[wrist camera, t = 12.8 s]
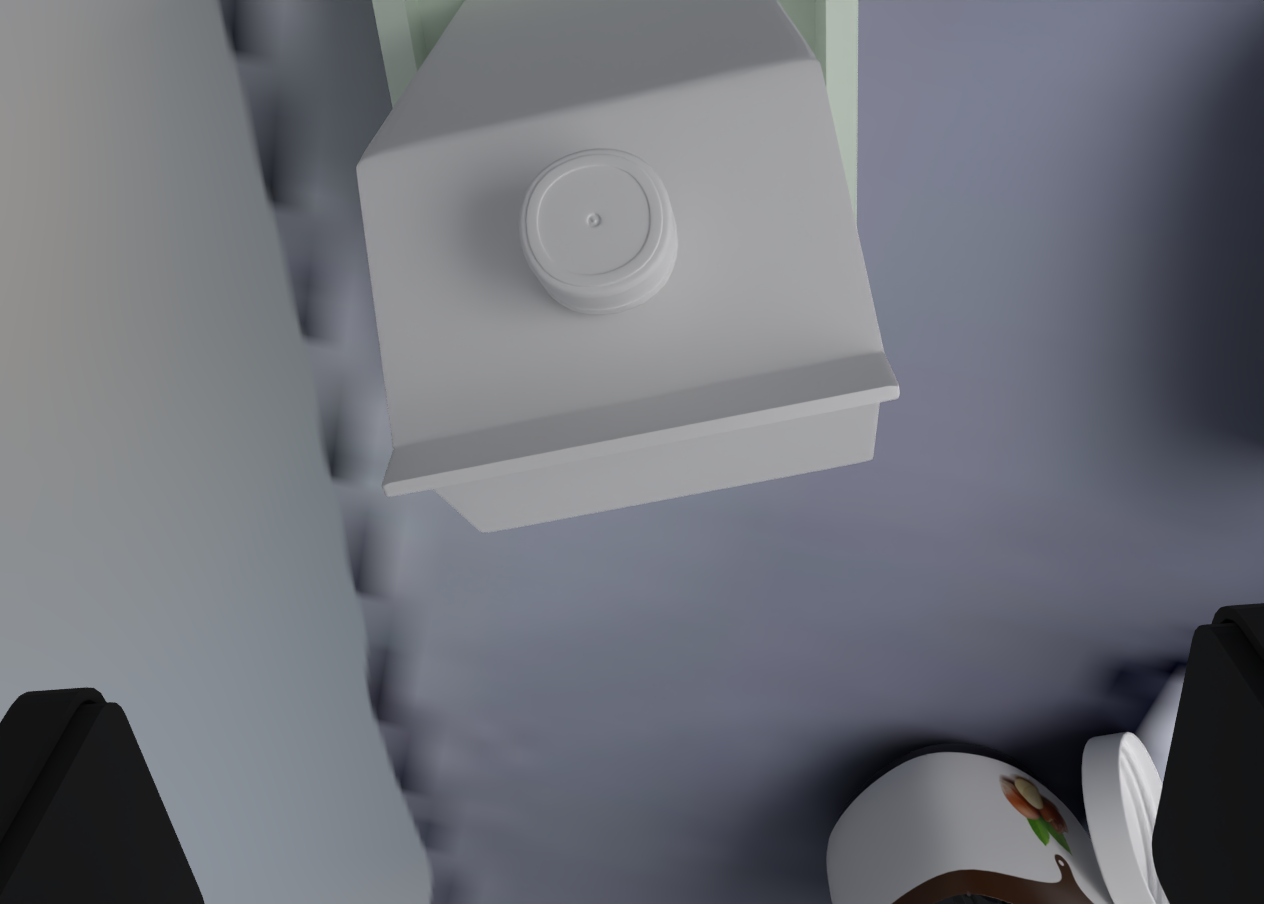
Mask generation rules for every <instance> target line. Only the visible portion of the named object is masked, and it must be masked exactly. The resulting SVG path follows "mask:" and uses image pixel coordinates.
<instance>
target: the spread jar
mask: <svg viewBox="0 0 1264 904" xmlns="http://www.w3.org/2000/svg"><path fill="white" fill-rule="evenodd" d="M1162 786H1163V785H1162V782H1161V780H1160V777H1159V775H1158V772H1157V770H1156V768H1155V765H1154V763H1153V761H1152V759H1151V757H1150V755H1149V753H1148V752H1147V750H1146V748H1145V746H1144V745H1143V744H1142V742H1141V741H1140V740H1139V738H1138V737H1137V736H1135V735H1134V734H1133V733H1130V732H1122V733H1116V734H1110V735H1103V736H1097V737H1093V738H1091V739H1089V740H1088V742H1087V743H1086V745H1085V748H1084V752H1083V757H1082V788H1083V798H1084V805H1085V811H1086V817H1087V823H1088V827H1089V832H1090V836H1091V840H1090V838H1089V836H1088V835H1087V833H1086V832H1085V830H1084V829H1083V827H1082V826H1081V824H1080V823H1079V822H1078V820H1077V819H1076V817H1075V816H1074V815H1073V813H1072V812H1071V811H1070V810H1069V809H1068V808H1067V807H1066V806H1065V805H1064V803H1063V802H1062V801H1061V800H1060V799H1059V798H1058V797H1057V796H1056V794H1055V793H1054V792H1053V791H1052V790H1051V789H1050V788H1049V787H1048V786H1047V785H1046V784H1044V783H1043V782H1042V781H1041V780H1040V779H1039V778H1038V777H1037V776H1035V775H1034V774H1033V773H1032V772H1031V771H1029V770H1028V769H1027V768H1026V767H1025V766H1023V765H1022V764H1020V763H1019V762H1017V761H1016V760H1014V759H1012V758H1011V757H1009V756H1007V755H1005V754H1003V753H1000V752H998V751H996V750H993V749H990V748H987V747H983V746H979V745H972V744H963V743H947V744H937V745H932V746H927V747H924V748H920V749H917V750H915V751H912V752H910V753H908V754H905V755H903V756H901V757H899V758H898V759H896V760H894V761H892V762H891V763H889V764H888V765H886V766H885V767H883V768H882V769H881V770H879V771H878V772H877V773H875V774H874V775H873V776H872V777H871V778H870V779H868V780H867V781H866V782H865V783H864V784H863V785H862V786H861V788H860V789H859V790H858V791H857V792H856V793H855V795H854V796H853V797H852V798H851V800H850V801H849V802H848V804H847V805H846V806H845V808H844V809H843V811H842V813H841V814H840V816H839V818H838V820H837V822H836V824H835V826H834V828H833V830H832V832H831V835H830V837H829V841H828V847H827V855H826V863H827V876H828V883H829V889H830V895H831V900H832V904H1169V902H1168V900H1167V897H1166V895H1165V893H1164V891H1163V889H1162V887H1161V885H1160V882H1159V879H1158V877H1157V874H1156V870H1155V867H1154V862H1153V856H1152V835H1153V830H1154V825H1155V820H1156V815H1157V810H1158V805H1159V800H1160V796H1161V791H1162ZM1091 841H1092V842H1091Z"/></svg>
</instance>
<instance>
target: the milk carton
mask: <svg viewBox="0 0 1264 904" xmlns="http://www.w3.org/2000/svg"><path fill="white" fill-rule="evenodd" d="M356 171H357V180H358V188H359V195H360V203H361V210H362V218H363V225H364V233H365V240H366V248H367V255H368V263H369V270H370V278H371V285H372V293H373V300H374V308H375V315H376V323H377V330H378V338H379V345H380V353H381V360H382V368H383V375H384V383H385V390H386V398H387V405H388V413H389V420H390V428H391V435H392V442H393V449H394V450H393V452H392V455H391V458H390V461H389V464H388V467H387V470H386V473H385V476H384V479H383V482H382V488H383V490H384V493H385V495H386V496H388V497H393V496H398V495H403V494H409V493H414V492H419V491H424V490H429V489H433V490H434V491H435V492H436V493H437V494H439V495H440V496H441V497H442V498H443V499H444V500H445V501H446V502H447V503H449V504H450V505H451V506H452V507H453V508H454V509H455V510H456V511H458V512H459V513H460V514H461V515H462V516H463V517H464V518H465V519H466V520H468V521H469V522H470V523H471V524H472V525H473V526H474V527H475V528H476V529H478V530H479V531H480V532H481V533H488V532H494V531H501V530H506V529H512V528H517V527H523V526H528V525H533V524H539V523H544V522H549V521H555V520H560V519H565V518H571V517H576V516H581V515H586V514H592V513H597V512H602V511H608V510H613V509H618V508H624V507H629V506H634V505H639V504H645V503H650V502H655V501H661V500H666V499H671V498H677V497H682V496H687V495H692V494H698V493H703V492H708V491H714V490H719V489H724V488H729V487H735V486H740V485H745V484H751V483H756V482H761V481H767V480H772V479H777V478H782V477H788V476H793V475H798V474H804V473H809V472H814V471H819V470H825V469H830V468H835V467H840V466H845V465H850V464H855V463H860V462H864V461H868V460H872V459H873V454H874V446H875V437H876V429H877V421H878V413H879V405H880V402H884V401H889V400H894V399H898V397H899V395H900V391H899V384H898V382H897V379H896V377H895V375H894V373H893V371H892V369H891V366H890V364H889V362H888V360H887V358H886V355H885V353H884V349H883V345H882V340H881V336H880V331H879V327H878V322H877V318H876V313H875V308H874V304H873V299H872V295H871V290H870V286H869V281H868V277H867V272H866V267H865V263H864V258H863V254H862V249H861V245H860V240H859V236H858V231H857V226H856V222H855V217H854V213H853V208H852V204H851V199H850V195H849V190H848V185H847V181H846V176H845V172H844V167H843V163H842V158H841V154H840V149H839V145H838V140H837V135H836V131H835V126H834V122H833V117H832V113H831V108H830V104H829V99H828V94H827V90H826V85H825V81H824V76H823V72H822V68H821V63H820V62H819V61H818V60H817V59H816V57H815V55H814V53H813V52H812V50H811V48H810V47H809V45H808V44H807V42H806V41H805V39H804V38H803V37H802V35H801V34H800V32H799V31H798V29H797V28H796V26H795V25H794V24H793V22H792V21H791V19H790V18H789V16H788V15H787V13H786V12H785V11H784V9H783V8H782V6H781V5H780V3H779V2H778V0H465V1H464V2H463V4H462V5H461V7H460V8H459V10H458V11H457V13H456V14H455V16H454V17H453V19H452V20H451V22H450V23H449V25H448V26H447V28H446V29H445V31H444V32H443V34H442V35H441V37H440V38H439V40H438V41H437V43H436V44H435V46H434V47H433V49H432V50H431V52H430V53H429V55H428V56H427V58H426V59H425V61H424V62H423V64H422V65H421V67H420V68H419V70H418V71H417V73H416V74H415V76H414V77H413V79H412V80H411V82H410V83H409V85H408V86H407V88H406V89H405V91H404V92H403V94H402V96H401V97H400V99H399V100H398V102H397V103H396V105H395V106H394V108H393V109H392V111H391V112H390V114H389V115H388V117H387V118H386V120H385V121H384V123H383V124H382V126H381V127H380V129H379V130H378V132H377V133H376V135H375V136H374V138H373V139H372V141H371V142H370V144H369V145H368V147H367V148H366V150H365V151H364V153H363V155H362V157H361V158H360V161H359V162H358V164H357V166H356Z"/></svg>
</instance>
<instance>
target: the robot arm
mask: <svg viewBox="0 0 1264 904" xmlns="http://www.w3.org/2000/svg"><path fill="white" fill-rule="evenodd" d="M1152 856H1153V862H1154V867H1155V870H1156V874H1157V877H1158V879H1159V882H1160V885H1161V887H1162V889H1163V891H1164V893H1165V895H1166V897H1167V900H1168V902H1169V904H1264V603H1261V604H1247V605H1233V606H1225V607H1221V608H1220V609H1219V610H1218V611H1217V612H1216V613H1215V616H1214V619H1213V621H1212V624H1209V625H1201V626H1199V627H1198V628H1197V629H1196V630H1195V633H1194V636H1193V639H1192V644H1191V648H1190V653H1189V658H1188V663H1187V668H1186V673H1185V678H1184V683H1183V688H1182V693H1181V698H1180V702H1179V707H1178V712H1177V717H1176V722H1175V727H1174V732H1173V737H1172V742H1171V747H1170V751H1169V756H1168V761H1167V766H1166V771H1165V776H1164V781H1163V786H1162V791H1161V796H1160V800H1159V805H1158V810H1157V815H1156V820H1155V825H1154V830H1153V835H1152ZM0 904H204V900H203V897H202V895H201V892H200V889H199V887H198V885H197V882H196V880H195V877H194V875H193V873H192V870H191V868H190V866H189V864H188V861H187V859H186V856H185V854H184V852H183V849H182V847H181V845H180V842H179V840H178V837H177V835H176V833H175V830H174V828H173V826H172V824H171V821H170V819H169V816H168V814H167V811H166V809H165V807H164V804H163V802H162V800H161V797H160V795H159V793H158V790H157V788H156V785H155V783H154V781H153V778H152V776H151V774H150V771H149V769H148V767H147V764H146V762H145V760H144V757H143V755H142V753H141V750H140V748H139V745H138V743H137V741H136V738H135V736H134V734H133V731H132V729H131V727H130V724H129V722H128V720H127V717H126V715H125V713H124V711H123V709H122V708H121V706H119V705H118V704H117V703H111V702H109V703H107V702H106V701H105V699H104V698H103V696H102V694H101V693H100V692H99V691H97V690H96V689H94V688H73V689H59V690H46V691H32V692H26V693H24V694H22V695H20V696H19V697H18V698H17V700H16V701H15V702H14V703H13V704H12V705H11V707H10V708H9V710H8V712H7V713H6V715H5V716H4V718H3V719H2V721H1V723H0Z"/></svg>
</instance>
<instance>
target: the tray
mask: <svg viewBox="0 0 1264 904" xmlns="http://www.w3.org/2000/svg"><path fill="white" fill-rule="evenodd" d="M464 1H465V0H372V3H373V9H374V14H375V19H376V24H377V30H378V35H379V40H380V45H381V51H382V56H383V61H384V66H385V72H386V77H387V82H388V87H389V93H390V98H391V103H392V108H394V106H395V105H396V103H397V102H398V100H399V99H400V97H401V96H402V94H403V92H404V91H405V89H406V88H407V86H408V85H409V83H410V82H411V80H412V79H413V77H414V76H415V74H416V73H417V71H418V70H419V68H420V67H421V65H422V64H423V62H424V61H425V59H426V58H427V56H428V55H429V53H430V52H431V50H432V49H433V47H434V46H435V44H436V43H437V41H438V40H439V38H440V37H441V35H442V34H443V32H444V31H445V29H446V28H447V26H448V25H449V23H450V22H451V20H452V19H453V17H454V16H455V14H456V13H457V11H458V10H459V8H460V7H461V5H462V4H463V2H464ZM778 2H779V3H780V5H781V6H782V8H783V9H784V11H785V12H786V13H787V15H788V16H789V18H790V19H791V21H792V22H793V24H794V25H795V26H796V28H797V29H798V31H799V32H800V34H801V35H802V37H803V38H804V39H805V41H806V42H807V44H808V45H809V47H810V48H811V50H812V52H813V53H814V55H815V57H816V59H817V60H818V61H819V62H820V63H821V68H822V72H823V76H824V81H825V85H826V90H827V94H828V99H829V104H830V108H831V113H832V117H833V122H834V126H835V131H836V135H837V140H838V145H839V149H840V154H841V158H842V163H843V167H844V172H845V176H846V181H847V185H848V190H849V195H850V199H851V204H852V208H853V213H854V217H855V222H856V226H857V98H858V0H778Z"/></svg>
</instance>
